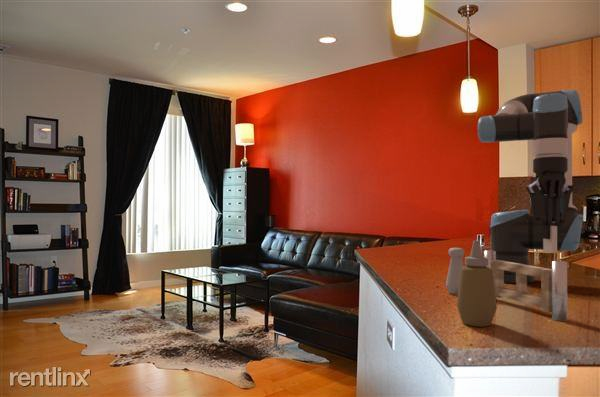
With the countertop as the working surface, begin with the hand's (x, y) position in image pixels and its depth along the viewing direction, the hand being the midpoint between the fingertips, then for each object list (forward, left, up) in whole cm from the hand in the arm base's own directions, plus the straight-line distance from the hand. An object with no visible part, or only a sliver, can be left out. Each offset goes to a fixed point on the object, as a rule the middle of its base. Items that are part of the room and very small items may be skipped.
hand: (550, 252), depth 112 cm
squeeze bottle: (+27, +6, -14) cm, 31 cm away
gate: (+7, -2, -13) cm, 15 cm away
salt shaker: (+11, -22, -14) cm, 28 cm away
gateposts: (+7, -2, -14) cm, 16 cm away
